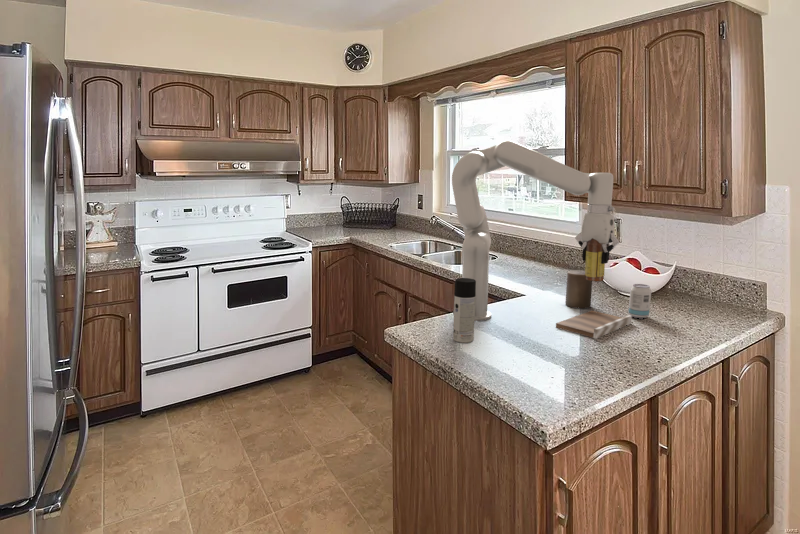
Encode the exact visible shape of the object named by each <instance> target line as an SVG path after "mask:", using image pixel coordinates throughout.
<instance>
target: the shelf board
mask: <svg viewBox="0 0 800 534" xmlns="http://www.w3.org/2000/svg"><path fill="white" fill-rule="evenodd" d="M632 318H633V317H632V316H631V315H629V314H628V315H625V316H623V317H621V316H617V315H614V314H609V313H605V312H600V311H596V310H590V311H587V312H584V313H581V314H578V315H576V316H572V317H570V318H567V319H564V320H561V321H559V322H556V323H555V328H556V329H557V328H558V329H561V330H564V331H568V332H571V333H575V334H579V335H582V336H585V337H590V338H593V339H599V338H601V337H603V336H605V335H607V334H610V333H613V332H615V331H617V330H619V328H620V329H623V328H625V327H626V325H627V326H629V325H631V324H632Z"/></svg>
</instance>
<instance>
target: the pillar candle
mask: <svg viewBox="0 0 800 534" xmlns="http://www.w3.org/2000/svg"><path fill="white" fill-rule="evenodd" d="M566 274H567V276H566V286H565V287H566V290H565V302H564V303H565V304H564V305H565V306H566V307H568V308H569V307H570V308H575V309H581V310H582V309H589V308H591V306H592V294H593V293H592V291H593V281H588V280H586V278H585V270H582V269H579V270H576V269H575V270H574V269H573V270H568V271H567V272H566Z"/></svg>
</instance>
